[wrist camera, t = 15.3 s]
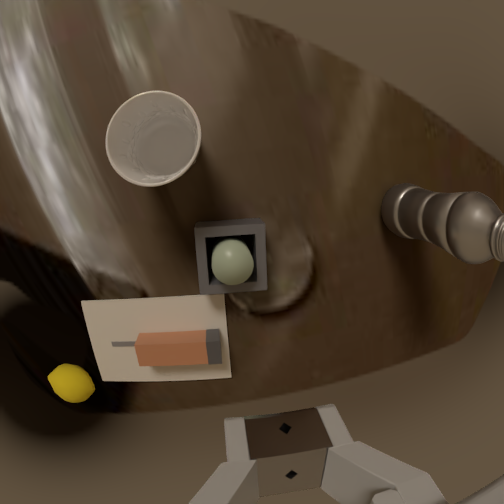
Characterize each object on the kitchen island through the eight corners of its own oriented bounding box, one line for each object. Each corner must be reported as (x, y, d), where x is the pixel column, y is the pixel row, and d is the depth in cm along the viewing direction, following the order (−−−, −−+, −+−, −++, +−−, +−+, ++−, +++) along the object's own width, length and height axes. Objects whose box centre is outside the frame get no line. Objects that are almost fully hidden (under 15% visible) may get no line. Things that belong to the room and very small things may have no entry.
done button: (213, 271, 36) (213, 286, 31) (210, 236, 35) (210, 246, 30) (249, 268, 36) (254, 283, 32) (247, 233, 35) (252, 243, 31)
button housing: (201, 282, 37) (200, 295, 33) (196, 222, 35) (194, 228, 31) (261, 277, 38) (267, 289, 34) (259, 217, 36) (264, 223, 32)
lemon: (99, 363, 39) (92, 387, 34) (96, 391, 40) (91, 415, 35) (52, 350, 37) (42, 373, 32) (53, 379, 38) (44, 402, 33)
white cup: (201, 185, 34) (195, 189, 25) (131, 181, 33) (101, 184, 24) (208, 114, 33) (206, 92, 23) (138, 111, 32) (111, 90, 22)
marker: (143, 353, 38) (139, 367, 35) (139, 332, 37) (133, 345, 34) (221, 350, 39) (222, 363, 36) (219, 328, 38) (219, 341, 35)
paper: (103, 379, 39) (102, 381, 38) (81, 300, 36) (80, 301, 36) (231, 376, 41) (231, 377, 40) (224, 292, 38) (224, 294, 37)
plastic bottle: (388, 243, 39) (501, 299, 19) (365, 198, 37) (485, 227, 18) (423, 217, 38) (540, 254, 19) (403, 172, 37) (528, 184, 17)
